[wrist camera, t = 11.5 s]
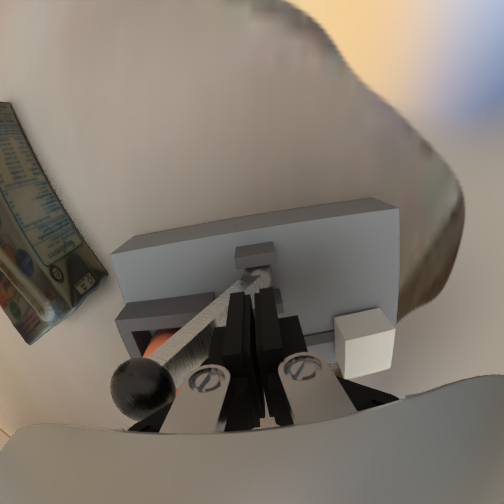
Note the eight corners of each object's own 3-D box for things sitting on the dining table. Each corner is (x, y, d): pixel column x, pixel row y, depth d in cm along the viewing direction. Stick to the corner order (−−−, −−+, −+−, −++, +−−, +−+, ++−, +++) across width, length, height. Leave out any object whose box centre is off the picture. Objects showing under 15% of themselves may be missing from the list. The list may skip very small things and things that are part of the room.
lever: (286, 294, 16) (157, 444, 7) (251, 291, 17) (115, 418, 8) (281, 256, 15) (127, 398, 6) (244, 255, 16) (87, 373, 8)
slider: (376, 345, 18) (390, 368, 15) (334, 355, 18) (344, 380, 15) (379, 307, 17) (395, 328, 14) (333, 317, 17) (345, 340, 14)
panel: (374, 321, 22) (405, 367, 16) (170, 351, 23) (151, 404, 17) (372, 197, 19) (418, 215, 13) (133, 236, 20) (92, 267, 14)
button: (209, 363, 17) (203, 397, 14) (162, 366, 17) (150, 398, 14) (196, 320, 16) (186, 352, 13) (145, 325, 16) (129, 355, 13)
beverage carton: (62, 315, 22) (24, 355, 16) (-27, 157, 17) (-73, 165, 11) (113, 274, 21) (71, 316, 15) (12, 97, 16) (-39, 93, 10)
